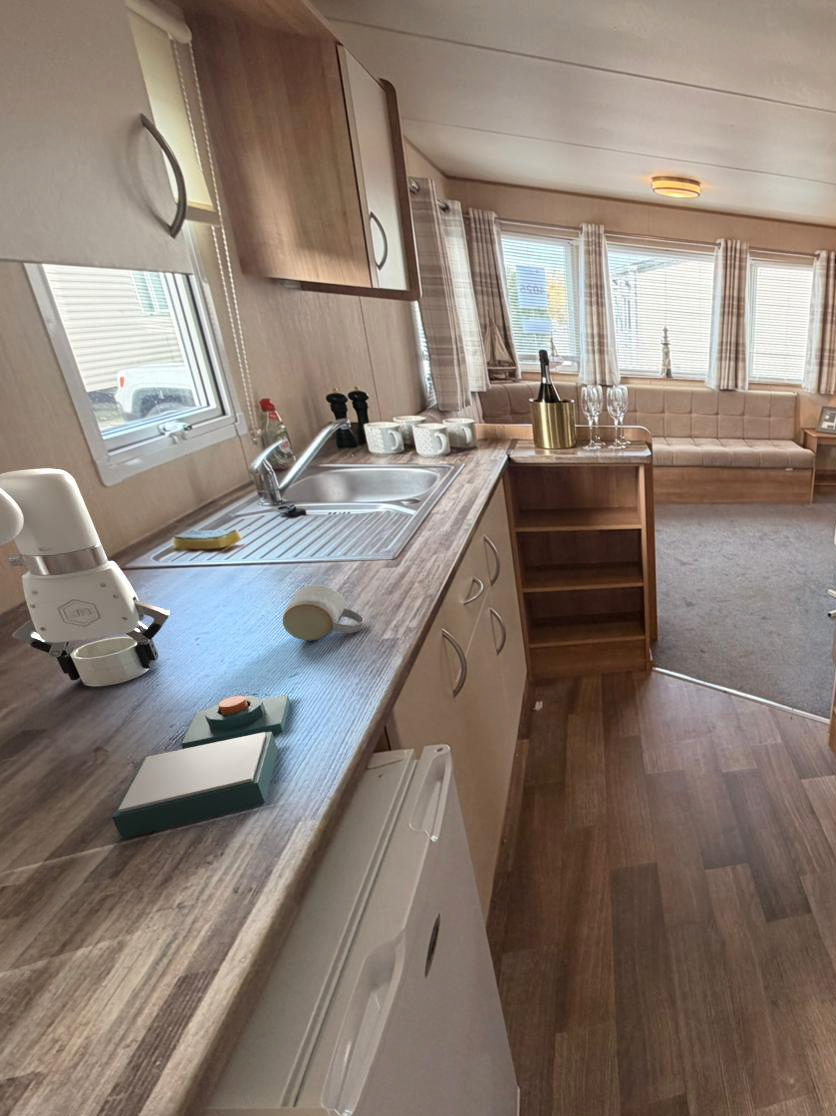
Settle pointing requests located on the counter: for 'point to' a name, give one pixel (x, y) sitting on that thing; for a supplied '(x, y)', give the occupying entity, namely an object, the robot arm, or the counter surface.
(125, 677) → the bowl
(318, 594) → the ceramic mug
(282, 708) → the pad
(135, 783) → the scale
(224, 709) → the button
